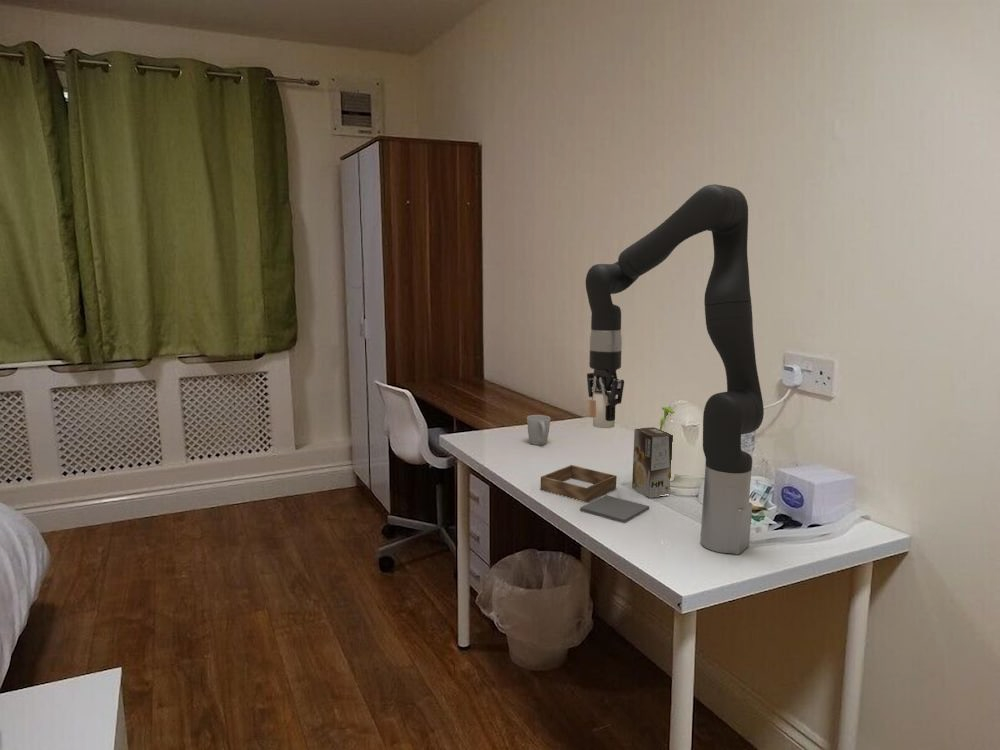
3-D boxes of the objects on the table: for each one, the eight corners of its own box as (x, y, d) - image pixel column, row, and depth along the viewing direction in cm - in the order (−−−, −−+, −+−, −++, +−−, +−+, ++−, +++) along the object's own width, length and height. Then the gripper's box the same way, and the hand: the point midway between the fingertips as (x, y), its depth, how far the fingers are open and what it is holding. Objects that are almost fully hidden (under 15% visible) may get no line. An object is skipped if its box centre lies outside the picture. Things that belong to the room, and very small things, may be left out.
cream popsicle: (607, 423, 176) (608, 391, 175) (618, 427, 172) (619, 394, 170) (583, 425, 174) (584, 392, 173) (594, 429, 169) (595, 396, 168)
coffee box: (670, 496, 182) (674, 435, 179) (649, 498, 180) (652, 436, 177) (651, 485, 191) (654, 426, 188) (630, 487, 188) (633, 428, 186)
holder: (616, 488, 187) (616, 475, 187) (586, 502, 176) (587, 488, 176) (570, 477, 196) (571, 464, 195) (540, 489, 185) (540, 476, 185)
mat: (649, 509, 172) (649, 506, 172) (624, 523, 163) (624, 519, 163) (606, 497, 180) (606, 494, 180) (580, 510, 171) (580, 507, 171)
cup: (545, 439, 235) (546, 414, 234) (555, 447, 226) (555, 421, 224) (523, 440, 233) (524, 415, 232) (531, 448, 224) (532, 422, 222)
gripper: (635, 351, 165) (633, 423, 167) (604, 345, 178) (602, 411, 181) (607, 352, 162) (605, 425, 165) (577, 346, 175) (576, 414, 178)
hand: (604, 418), depth 173 cm, fingers closed on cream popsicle, 5 cm apart
